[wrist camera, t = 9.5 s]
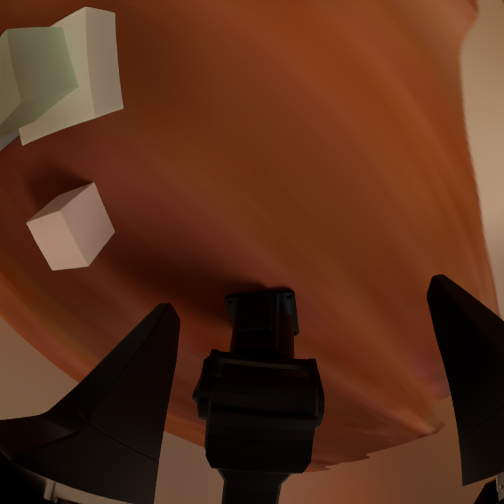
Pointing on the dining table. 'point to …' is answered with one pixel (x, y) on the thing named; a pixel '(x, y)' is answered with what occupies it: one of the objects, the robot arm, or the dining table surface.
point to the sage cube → (32, 74)
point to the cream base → (84, 74)
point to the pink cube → (72, 228)
